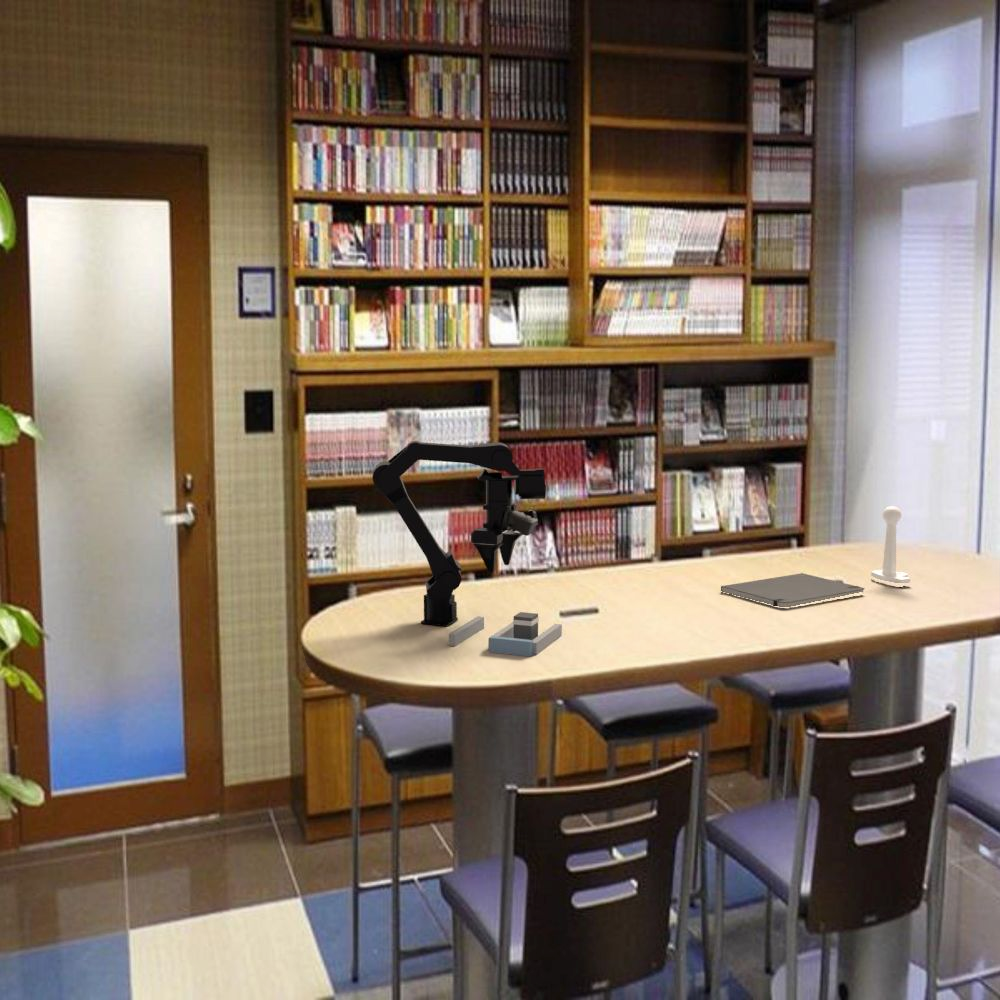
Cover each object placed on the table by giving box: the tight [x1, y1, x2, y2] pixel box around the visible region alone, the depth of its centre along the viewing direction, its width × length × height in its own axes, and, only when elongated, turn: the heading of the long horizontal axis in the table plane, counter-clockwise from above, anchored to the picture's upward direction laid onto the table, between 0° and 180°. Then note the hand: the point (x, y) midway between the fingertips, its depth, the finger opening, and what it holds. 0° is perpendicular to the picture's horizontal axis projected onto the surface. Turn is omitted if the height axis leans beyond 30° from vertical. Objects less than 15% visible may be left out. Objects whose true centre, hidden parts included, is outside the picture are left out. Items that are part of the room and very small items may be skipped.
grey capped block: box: [512, 611, 539, 640], centre depth 256 cm, size 4×4×6 cm
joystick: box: [870, 505, 912, 583], centre depth 311 cm, size 11×8×20 cm
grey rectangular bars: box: [447, 615, 563, 657], centre depth 257 cm, size 20×18×3 cm
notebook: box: [720, 572, 866, 607], centre depth 301 cm, size 22×2×28 cm
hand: (499, 568), depth 273 cm, fingers open, 9 cm apart
